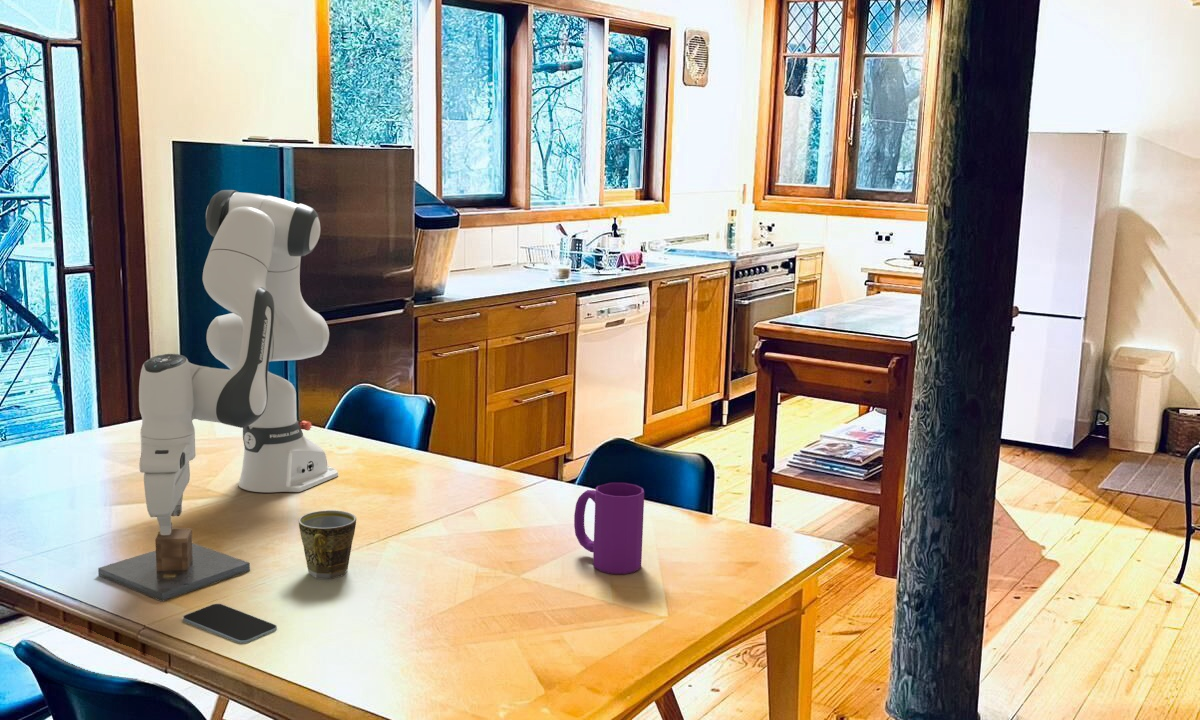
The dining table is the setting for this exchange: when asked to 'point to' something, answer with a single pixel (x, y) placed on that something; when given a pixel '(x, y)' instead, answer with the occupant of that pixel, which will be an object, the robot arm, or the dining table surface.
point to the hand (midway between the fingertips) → (171, 524)
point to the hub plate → (173, 573)
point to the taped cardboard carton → (174, 550)
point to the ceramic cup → (327, 542)
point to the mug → (613, 527)
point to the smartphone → (229, 623)
